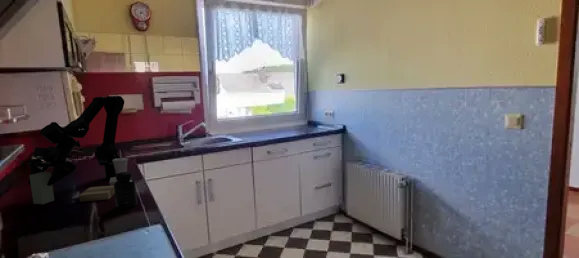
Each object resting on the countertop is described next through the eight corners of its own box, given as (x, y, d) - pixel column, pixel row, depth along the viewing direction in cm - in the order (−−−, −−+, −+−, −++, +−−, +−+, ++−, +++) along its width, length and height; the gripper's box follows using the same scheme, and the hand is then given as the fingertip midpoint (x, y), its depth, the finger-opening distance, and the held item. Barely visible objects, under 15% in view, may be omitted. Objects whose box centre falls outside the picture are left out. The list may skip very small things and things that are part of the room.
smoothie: (132, 178, 155) (130, 148, 153) (122, 182, 149) (119, 151, 147) (121, 177, 157) (118, 148, 155) (111, 181, 151) (107, 151, 149)
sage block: (45, 199, 128) (41, 171, 127) (54, 200, 127) (50, 172, 126) (33, 203, 124) (29, 175, 122) (42, 204, 123) (38, 175, 121)
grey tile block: (111, 186, 144) (110, 177, 143) (131, 183, 147) (131, 175, 147) (110, 191, 137) (109, 182, 136) (131, 188, 140) (130, 179, 139)
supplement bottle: (117, 204, 120) (114, 172, 119) (137, 201, 123) (134, 170, 121) (114, 210, 114) (111, 177, 112) (136, 207, 116) (133, 174, 115)
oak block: (90, 194, 134) (89, 187, 134) (117, 192, 136) (116, 185, 136) (80, 202, 124) (79, 195, 124) (108, 200, 126) (108, 192, 126)
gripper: (28, 138, 129) (1, 173, 120) (65, 138, 124) (40, 175, 115) (50, 153, 137) (26, 187, 128) (86, 155, 132) (63, 190, 123)
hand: (38, 184), depth 123 cm, fingers open, 9 cm apart
